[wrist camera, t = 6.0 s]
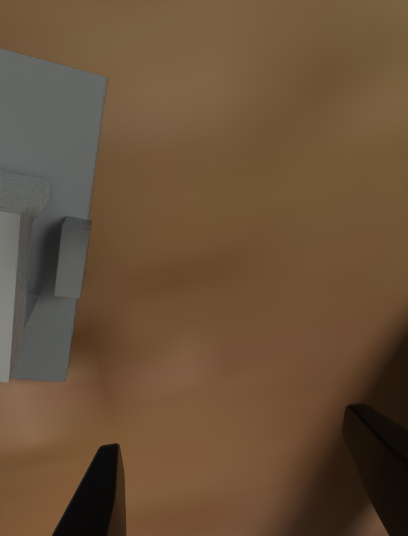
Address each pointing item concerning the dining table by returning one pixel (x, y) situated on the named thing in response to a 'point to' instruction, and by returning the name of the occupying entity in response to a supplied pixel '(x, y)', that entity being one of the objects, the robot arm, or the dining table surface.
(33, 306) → the grey rectangular block
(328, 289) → the dining table surface
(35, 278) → the board
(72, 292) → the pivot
